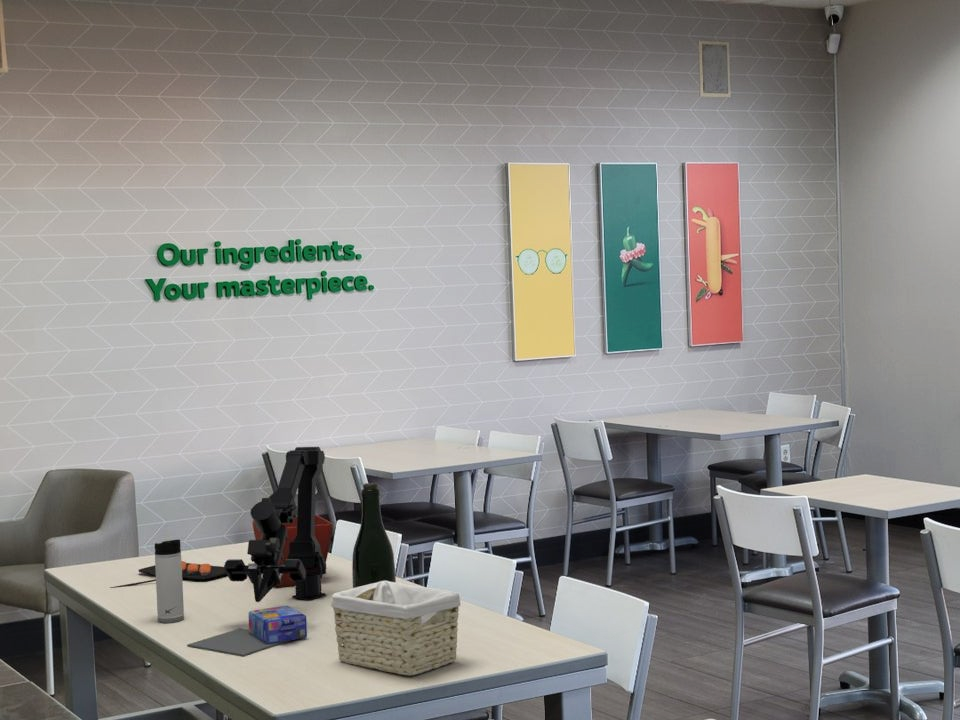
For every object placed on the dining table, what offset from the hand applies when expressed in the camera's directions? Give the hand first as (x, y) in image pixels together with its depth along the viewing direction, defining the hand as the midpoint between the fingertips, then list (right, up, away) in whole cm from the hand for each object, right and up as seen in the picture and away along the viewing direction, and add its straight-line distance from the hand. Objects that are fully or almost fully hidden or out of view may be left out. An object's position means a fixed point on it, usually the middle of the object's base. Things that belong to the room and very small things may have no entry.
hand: (257, 601), depth 274 cm
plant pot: (0, -6, +58) cm, 58 cm away
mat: (-2, -8, -7) cm, 11 cm away
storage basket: (+34, -7, -28) cm, 45 cm away
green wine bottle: (+27, -7, +8) cm, 29 cm away
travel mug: (-24, -8, +17) cm, 31 cm away
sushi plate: (-39, -8, +67) cm, 78 cm away
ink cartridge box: (+2, -4, +2) cm, 5 cm away
